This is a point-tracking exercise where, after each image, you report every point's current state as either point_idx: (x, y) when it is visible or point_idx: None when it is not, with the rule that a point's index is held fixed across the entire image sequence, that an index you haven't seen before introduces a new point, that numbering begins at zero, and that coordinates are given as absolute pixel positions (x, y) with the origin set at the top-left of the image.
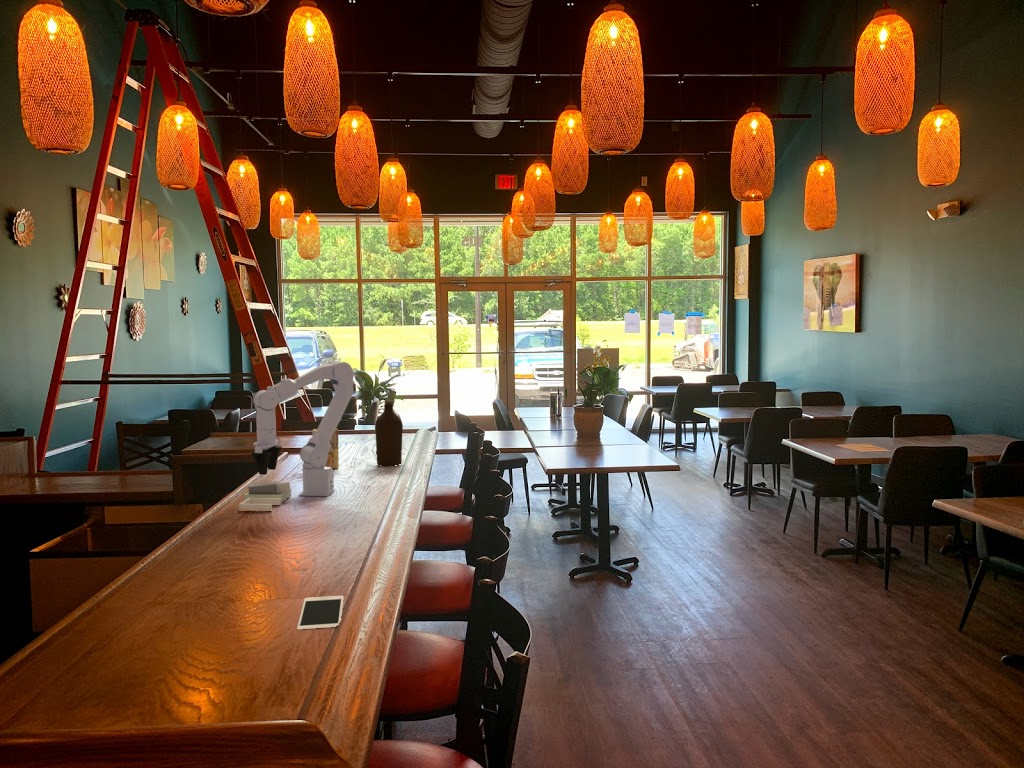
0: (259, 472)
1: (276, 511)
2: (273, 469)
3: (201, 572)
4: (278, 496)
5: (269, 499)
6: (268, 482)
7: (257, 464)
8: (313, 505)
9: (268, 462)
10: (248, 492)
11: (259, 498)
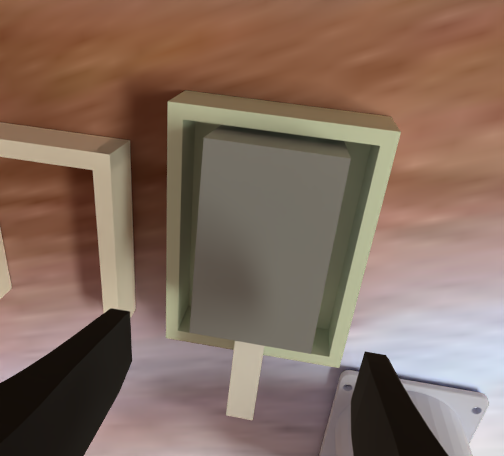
0: (96, 323)
1: (17, 305)
2: (354, 392)
3: None
4: (168, 318)
5: (104, 279)
6: (324, 278)
7: (20, 380)
8: (147, 427)
9: (379, 418)
10: (246, 116)
11: (97, 226)
